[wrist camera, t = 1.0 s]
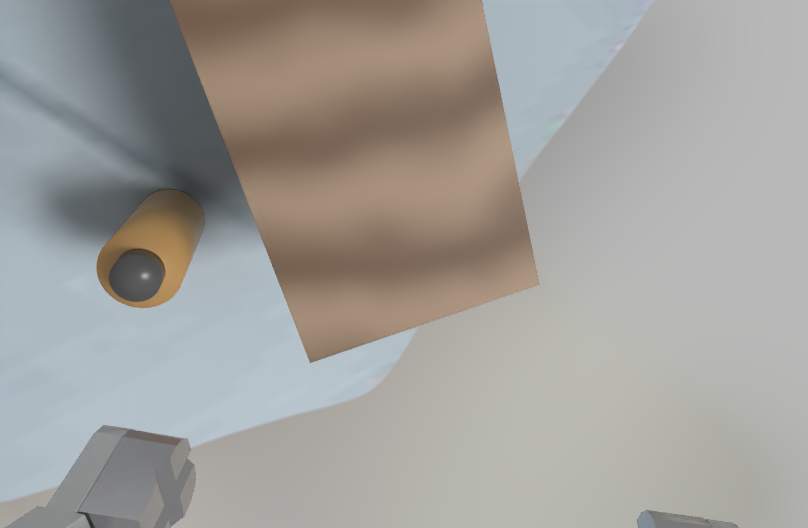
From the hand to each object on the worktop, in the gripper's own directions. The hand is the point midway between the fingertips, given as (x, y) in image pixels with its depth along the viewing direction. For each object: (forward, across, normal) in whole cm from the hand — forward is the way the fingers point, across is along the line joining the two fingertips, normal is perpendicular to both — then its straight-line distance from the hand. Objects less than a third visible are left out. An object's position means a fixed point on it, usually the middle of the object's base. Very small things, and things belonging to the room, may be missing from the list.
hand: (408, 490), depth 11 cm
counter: (+40, +10, +9) cm, 42 cm away
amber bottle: (+33, +22, +19) cm, 44 cm away
